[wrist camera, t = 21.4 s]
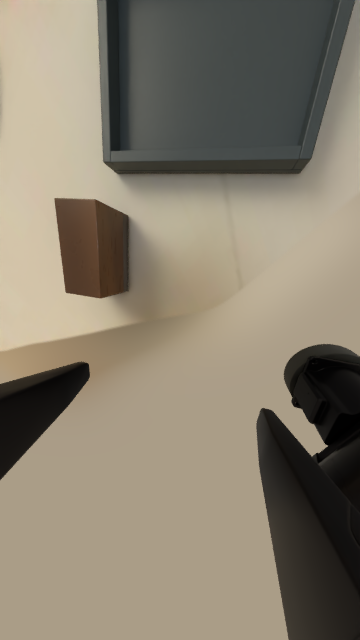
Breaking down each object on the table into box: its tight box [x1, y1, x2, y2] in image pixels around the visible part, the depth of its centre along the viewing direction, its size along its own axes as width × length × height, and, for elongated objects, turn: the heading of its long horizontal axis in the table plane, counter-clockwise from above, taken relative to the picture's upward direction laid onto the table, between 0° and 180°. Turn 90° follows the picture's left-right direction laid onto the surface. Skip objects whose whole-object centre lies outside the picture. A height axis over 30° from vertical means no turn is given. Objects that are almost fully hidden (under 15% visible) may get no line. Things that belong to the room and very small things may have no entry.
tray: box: [97, 0, 355, 173], centre depth 13 cm, size 17×13×2 cm
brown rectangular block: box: [55, 198, 128, 298], centre depth 18 cm, size 4×8×5 cm, turn 174°
